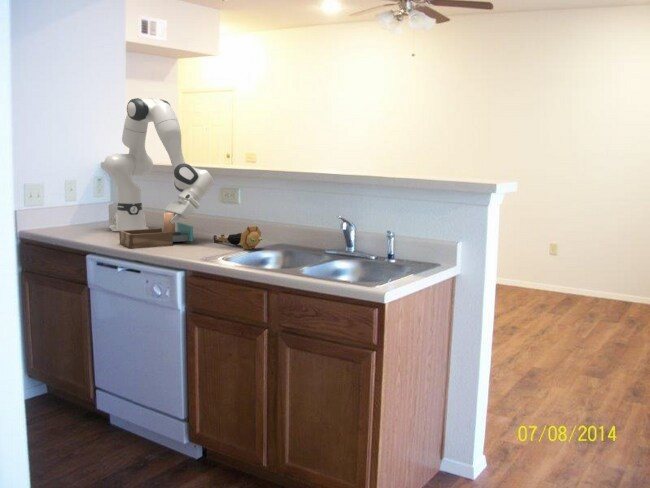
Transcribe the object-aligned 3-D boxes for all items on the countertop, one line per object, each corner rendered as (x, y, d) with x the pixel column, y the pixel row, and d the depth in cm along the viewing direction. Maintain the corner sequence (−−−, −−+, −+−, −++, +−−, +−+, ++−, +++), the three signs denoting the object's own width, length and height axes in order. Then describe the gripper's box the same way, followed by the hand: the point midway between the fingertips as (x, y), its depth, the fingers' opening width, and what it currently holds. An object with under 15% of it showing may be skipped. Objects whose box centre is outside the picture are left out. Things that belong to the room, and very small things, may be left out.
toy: (233, 227, 297) (272, 224, 276) (235, 248, 298) (274, 247, 276) (201, 230, 285) (240, 227, 264) (203, 252, 286) (242, 251, 264)
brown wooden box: (119, 244, 278) (119, 230, 277) (161, 241, 289) (160, 228, 288) (130, 248, 267) (129, 234, 266) (172, 245, 278) (172, 232, 277)
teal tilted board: (140, 239, 284) (139, 224, 283) (179, 236, 295) (179, 222, 294) (152, 244, 272) (151, 228, 271) (193, 241, 283) (192, 226, 282)
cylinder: (162, 232, 284) (161, 212, 283) (172, 231, 287) (172, 212, 286) (166, 233, 280) (165, 213, 279) (176, 232, 283) (176, 213, 282)
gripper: (174, 193, 293) (154, 214, 289) (192, 196, 277) (171, 219, 273) (183, 202, 297) (164, 223, 293) (201, 206, 280) (181, 229, 276)
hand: (167, 221), depth 283 cm, fingers closed on cylinder, 5 cm apart
